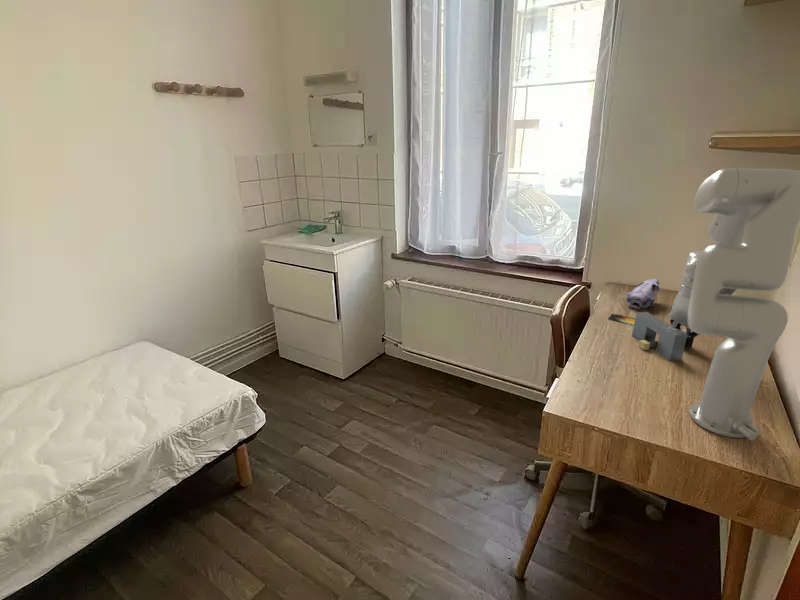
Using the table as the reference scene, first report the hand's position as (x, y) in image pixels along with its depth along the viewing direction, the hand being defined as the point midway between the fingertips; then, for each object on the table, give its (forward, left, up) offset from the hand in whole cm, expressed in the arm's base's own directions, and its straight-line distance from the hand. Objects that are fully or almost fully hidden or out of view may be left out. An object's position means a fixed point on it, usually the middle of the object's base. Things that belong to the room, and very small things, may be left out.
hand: (680, 343), depth 143 cm
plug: (0, +6, -1) cm, 6 cm away
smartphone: (+20, +4, -1) cm, 20 cm away
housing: (0, +9, -1) cm, 9 cm away
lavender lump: (+34, -11, -1) cm, 36 cm away
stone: (+24, -31, -1) cm, 40 cm away
